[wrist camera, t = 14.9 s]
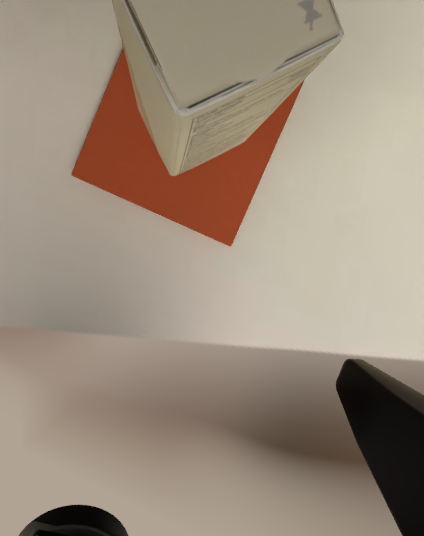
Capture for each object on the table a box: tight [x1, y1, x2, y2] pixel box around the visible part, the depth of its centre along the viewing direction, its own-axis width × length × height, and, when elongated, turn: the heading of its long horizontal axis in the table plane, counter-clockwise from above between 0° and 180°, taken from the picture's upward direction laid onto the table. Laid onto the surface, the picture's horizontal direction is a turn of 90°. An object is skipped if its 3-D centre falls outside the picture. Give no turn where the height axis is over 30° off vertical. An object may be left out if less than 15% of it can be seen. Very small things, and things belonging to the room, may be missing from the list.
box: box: [112, 0, 344, 176], centre depth 13 cm, size 5×4×11 cm
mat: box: [72, 48, 305, 246], centre depth 19 cm, size 11×10×1 cm
